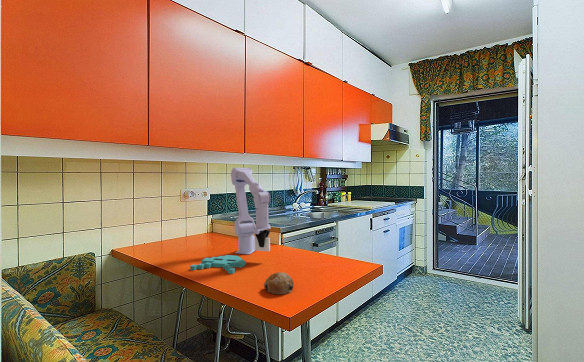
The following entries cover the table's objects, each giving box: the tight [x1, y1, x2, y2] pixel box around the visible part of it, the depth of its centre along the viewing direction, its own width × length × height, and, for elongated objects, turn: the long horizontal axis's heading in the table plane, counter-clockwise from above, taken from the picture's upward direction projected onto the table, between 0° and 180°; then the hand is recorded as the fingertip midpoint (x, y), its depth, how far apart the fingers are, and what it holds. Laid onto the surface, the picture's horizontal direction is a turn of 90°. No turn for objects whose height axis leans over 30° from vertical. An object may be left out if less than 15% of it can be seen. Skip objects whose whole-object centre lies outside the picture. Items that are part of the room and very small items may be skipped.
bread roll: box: [263, 271, 295, 295], centre depth 114 cm, size 10×10×8 cm
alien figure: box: [189, 254, 247, 275], centre depth 144 cm, size 20×2×20 cm
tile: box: [254, 236, 271, 252], centre depth 149 cm, size 2×7×6 cm, turn 72°
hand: (262, 246), depth 149 cm, fingers closed on tile, 2 cm apart
